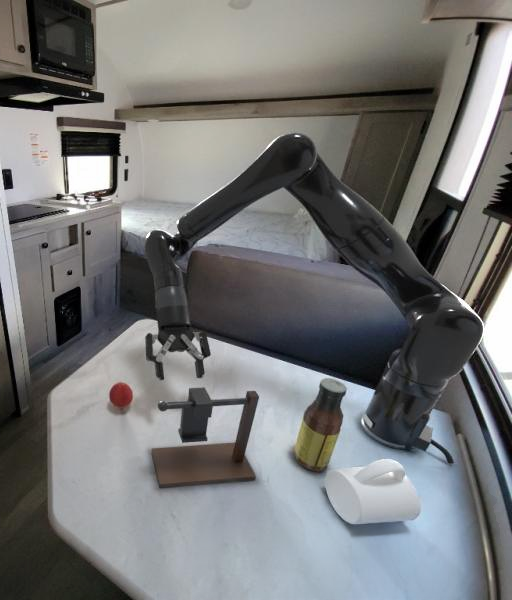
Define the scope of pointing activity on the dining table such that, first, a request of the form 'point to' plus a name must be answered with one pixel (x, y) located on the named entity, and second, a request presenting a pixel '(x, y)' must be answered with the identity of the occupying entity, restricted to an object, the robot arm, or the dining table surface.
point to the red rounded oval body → (121, 395)
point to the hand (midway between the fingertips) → (181, 379)
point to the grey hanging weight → (196, 416)
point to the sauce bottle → (321, 426)
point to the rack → (208, 452)
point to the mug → (373, 493)
